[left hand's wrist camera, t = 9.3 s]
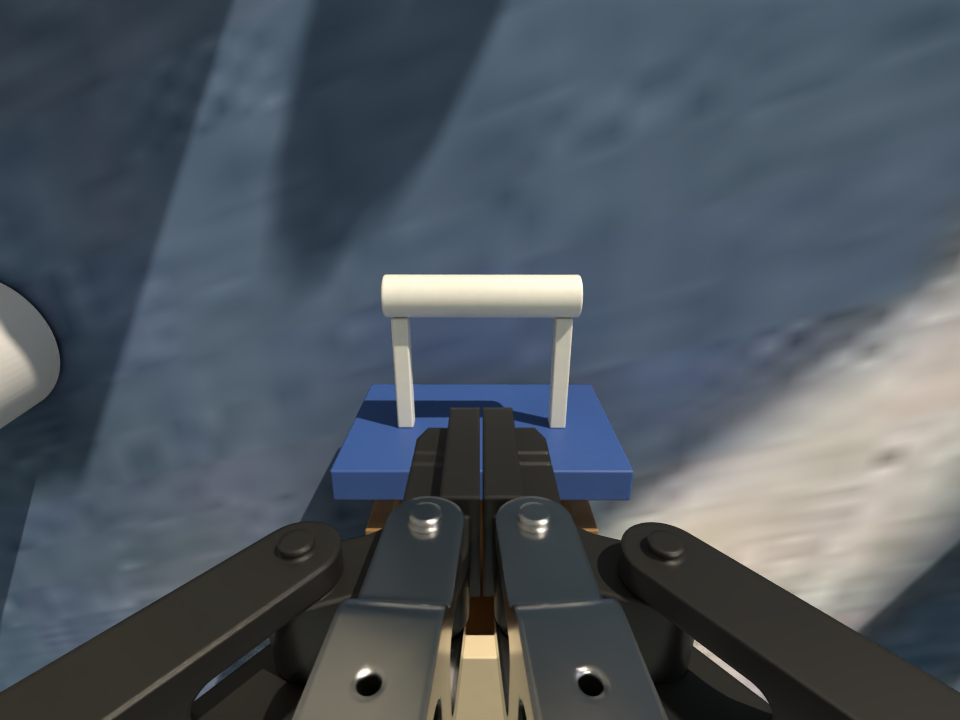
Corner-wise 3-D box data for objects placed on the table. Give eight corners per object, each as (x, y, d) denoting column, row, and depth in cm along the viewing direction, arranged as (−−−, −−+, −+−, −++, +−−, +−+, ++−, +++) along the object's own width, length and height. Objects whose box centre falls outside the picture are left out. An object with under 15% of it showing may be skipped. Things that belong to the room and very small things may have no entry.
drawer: (360, 255, 21) (307, 298, 15) (603, 255, 21) (657, 298, 15) (394, 655, 30) (370, 794, 23) (566, 655, 30) (591, 794, 23)
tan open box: (374, 502, 27) (326, 657, 19) (587, 502, 27) (636, 658, 19) (395, 734, 34) (367, 923, 25) (565, 734, 34) (593, 924, 25)
